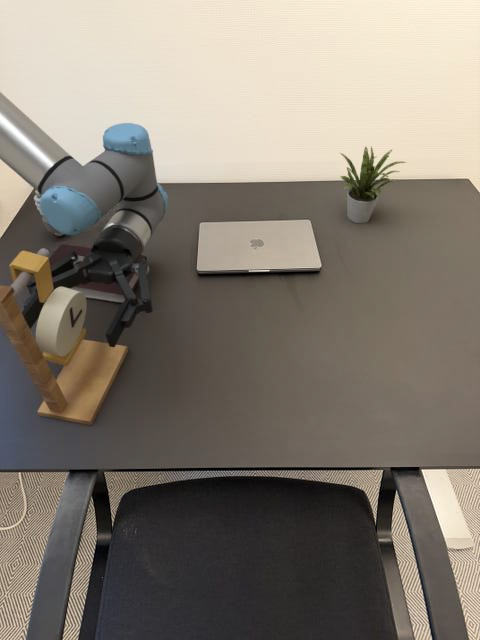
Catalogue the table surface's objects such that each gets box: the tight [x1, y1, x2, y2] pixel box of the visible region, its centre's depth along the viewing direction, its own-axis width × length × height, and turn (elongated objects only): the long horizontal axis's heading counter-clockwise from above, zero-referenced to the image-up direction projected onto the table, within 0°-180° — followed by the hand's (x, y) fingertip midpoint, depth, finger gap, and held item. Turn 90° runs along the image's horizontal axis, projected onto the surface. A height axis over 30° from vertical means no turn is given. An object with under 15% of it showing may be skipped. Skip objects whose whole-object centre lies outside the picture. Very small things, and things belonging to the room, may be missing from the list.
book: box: [48, 243, 148, 304], centre depth 96 cm, size 12×19×3 cm, turn 77°
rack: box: [0, 247, 129, 426], centre depth 70 cm, size 9×16×26 cm, turn 168°
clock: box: [9, 250, 88, 366], centre depth 68 cm, size 7×10×17 cm
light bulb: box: [33, 190, 65, 237], centre depth 103 cm, size 6×6×12 cm
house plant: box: [339, 146, 407, 224], centre depth 104 cm, size 14×14×16 cm
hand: (64, 333), depth 66 cm, fingers open, 13 cm apart
